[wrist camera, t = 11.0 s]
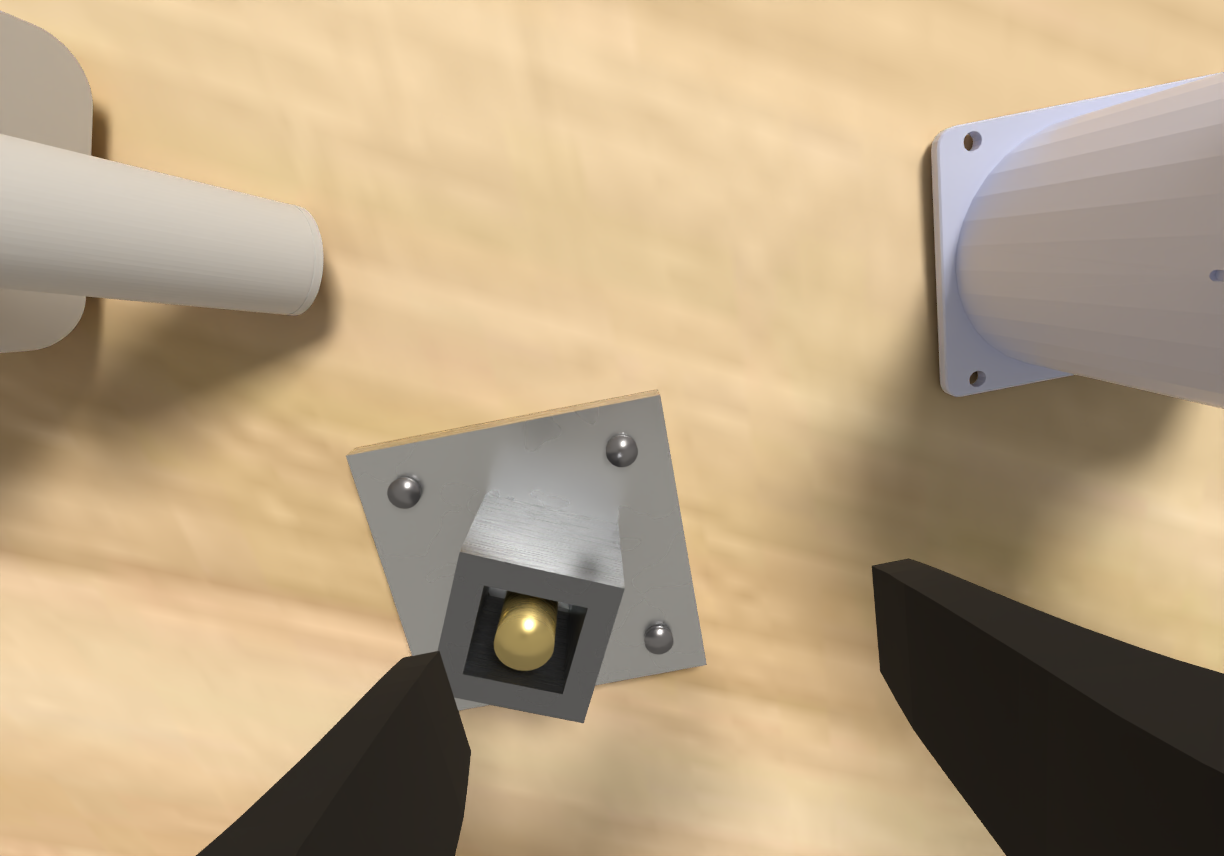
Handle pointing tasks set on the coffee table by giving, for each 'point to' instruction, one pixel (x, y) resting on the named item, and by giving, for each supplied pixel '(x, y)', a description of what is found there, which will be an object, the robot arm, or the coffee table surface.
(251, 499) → the coffee table surface
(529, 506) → the hollow square tube
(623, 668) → the anchor plate
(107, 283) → the wall hook
